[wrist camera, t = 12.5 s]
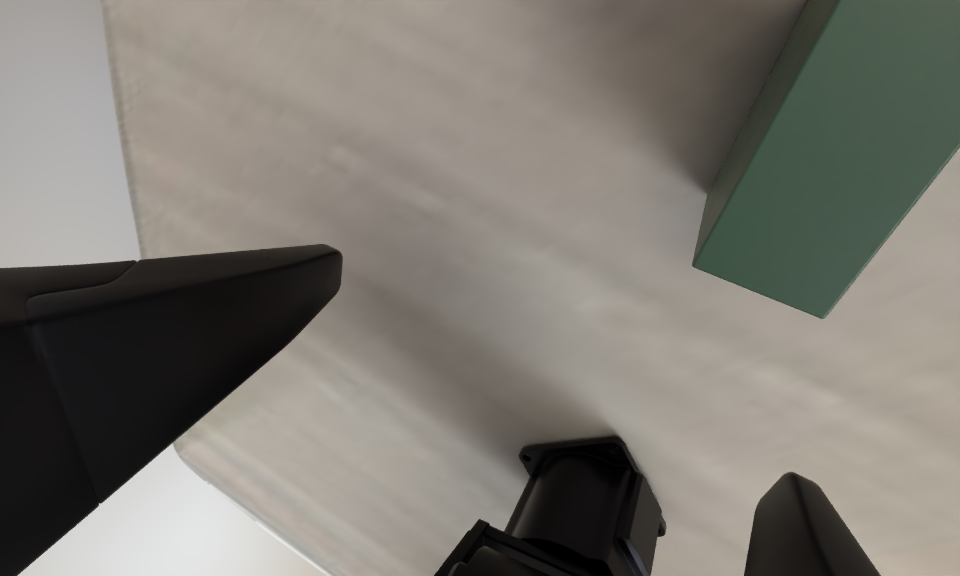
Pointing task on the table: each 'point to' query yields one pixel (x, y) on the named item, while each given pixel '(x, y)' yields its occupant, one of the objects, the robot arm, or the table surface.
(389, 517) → the table surface
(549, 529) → the robot arm
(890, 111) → the green block
